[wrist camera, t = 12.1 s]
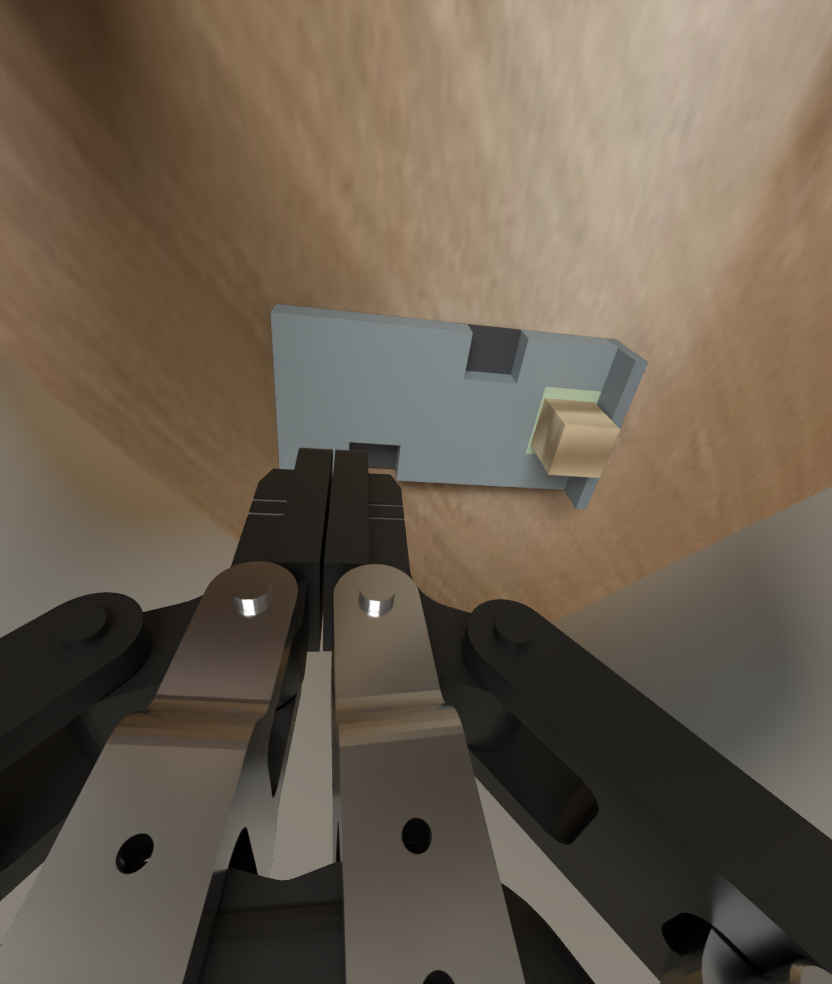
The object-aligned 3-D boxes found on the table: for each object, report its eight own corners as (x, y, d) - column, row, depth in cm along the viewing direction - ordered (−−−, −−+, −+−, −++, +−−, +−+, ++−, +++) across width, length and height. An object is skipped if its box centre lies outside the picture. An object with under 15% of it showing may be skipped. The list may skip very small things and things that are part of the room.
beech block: (544, 397, 39) (565, 425, 35) (594, 402, 39) (620, 429, 35) (530, 444, 41) (548, 474, 37) (577, 447, 42) (599, 477, 38)
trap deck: (276, 303, 35) (262, 323, 30) (616, 339, 39) (648, 362, 34) (283, 460, 43) (274, 493, 38) (565, 476, 47) (585, 509, 42)
